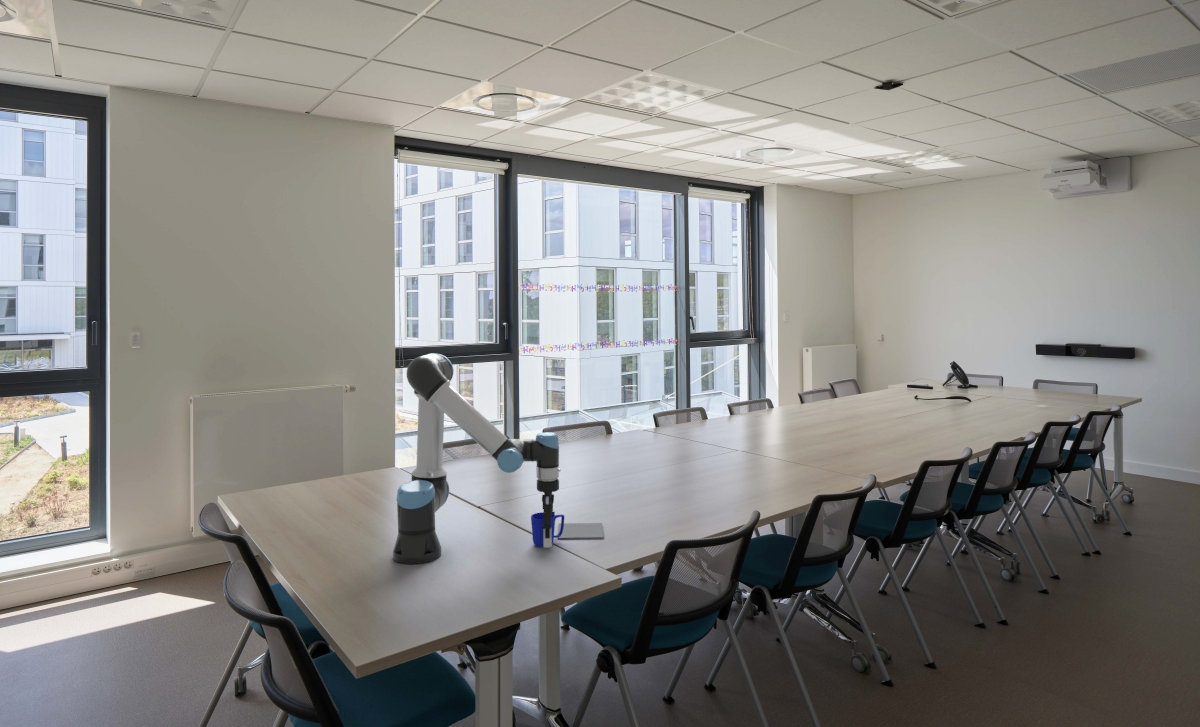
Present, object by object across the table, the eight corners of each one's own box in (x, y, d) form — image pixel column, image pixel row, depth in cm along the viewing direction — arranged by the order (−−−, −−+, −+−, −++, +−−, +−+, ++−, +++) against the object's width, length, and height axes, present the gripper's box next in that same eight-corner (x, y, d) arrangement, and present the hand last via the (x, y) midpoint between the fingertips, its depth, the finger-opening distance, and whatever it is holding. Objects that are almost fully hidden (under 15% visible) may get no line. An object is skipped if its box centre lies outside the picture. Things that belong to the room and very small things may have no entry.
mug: (569, 543, 238) (569, 515, 237) (538, 550, 231) (537, 520, 231) (558, 537, 245) (558, 509, 244) (527, 543, 238) (526, 514, 238)
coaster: (557, 539, 242) (557, 537, 242) (558, 525, 258) (558, 523, 258) (603, 538, 243) (603, 537, 243) (601, 524, 259) (601, 522, 259)
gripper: (558, 487, 224) (558, 552, 226) (559, 469, 249) (560, 528, 250) (534, 488, 224) (535, 553, 226) (538, 470, 248) (539, 529, 250)
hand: (548, 540), depth 238 cm, fingers open, 12 cm apart
